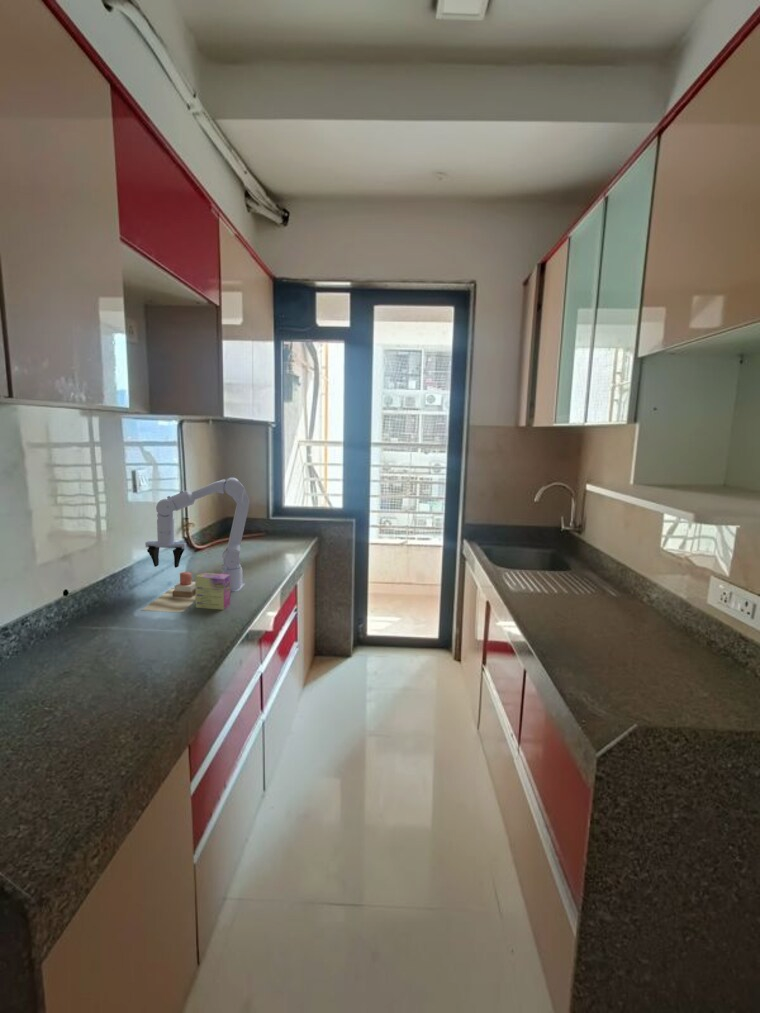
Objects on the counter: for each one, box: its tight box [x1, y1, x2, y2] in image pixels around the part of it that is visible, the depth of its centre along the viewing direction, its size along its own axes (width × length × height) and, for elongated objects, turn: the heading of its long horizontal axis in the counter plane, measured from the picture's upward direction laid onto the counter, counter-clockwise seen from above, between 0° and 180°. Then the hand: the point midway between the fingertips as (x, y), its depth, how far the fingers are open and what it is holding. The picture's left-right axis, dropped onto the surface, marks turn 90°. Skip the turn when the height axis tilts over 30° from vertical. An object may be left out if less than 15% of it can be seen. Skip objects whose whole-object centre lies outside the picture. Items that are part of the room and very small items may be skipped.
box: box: [195, 571, 231, 611], centre depth 166 cm, size 10×6×12 cm, turn 84°
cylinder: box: [179, 571, 193, 585], centre depth 177 cm, size 4×4×4 cm
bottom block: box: [173, 588, 196, 597], centre depth 177 cm, size 7×7×2 cm
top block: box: [173, 581, 196, 592], centre depth 177 cm, size 6×6×2 cm
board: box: [140, 587, 196, 613], centre depth 172 cm, size 24×14×1 cm, turn 0°
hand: (166, 566), depth 178 cm, fingers open, 7 cm apart
